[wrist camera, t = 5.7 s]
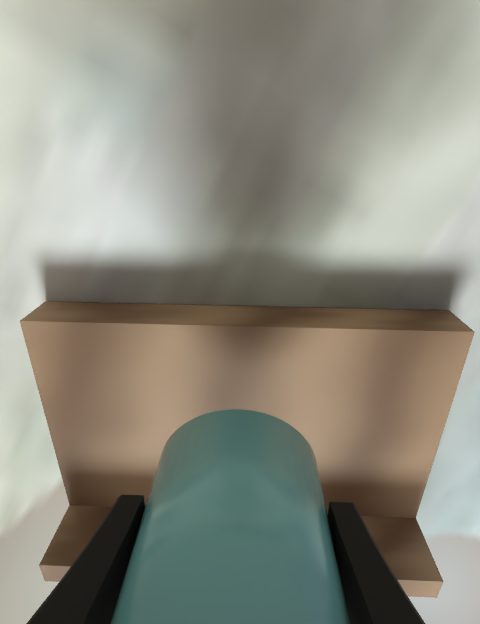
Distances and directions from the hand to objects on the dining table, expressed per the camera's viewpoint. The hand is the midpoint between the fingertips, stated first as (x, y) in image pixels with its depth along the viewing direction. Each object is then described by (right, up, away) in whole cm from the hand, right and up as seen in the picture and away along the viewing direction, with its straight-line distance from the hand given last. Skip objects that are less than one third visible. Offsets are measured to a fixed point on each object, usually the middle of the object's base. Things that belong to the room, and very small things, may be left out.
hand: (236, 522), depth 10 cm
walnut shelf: (0, +1, +9) cm, 9 cm away
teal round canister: (0, +1, +1) cm, 2 cm away
